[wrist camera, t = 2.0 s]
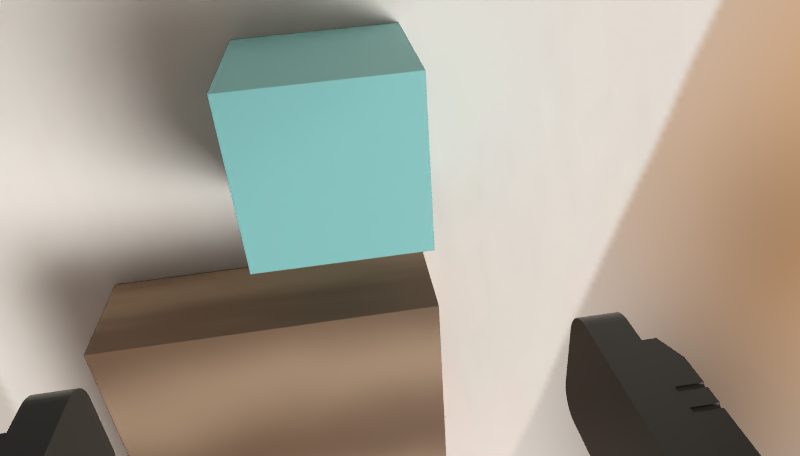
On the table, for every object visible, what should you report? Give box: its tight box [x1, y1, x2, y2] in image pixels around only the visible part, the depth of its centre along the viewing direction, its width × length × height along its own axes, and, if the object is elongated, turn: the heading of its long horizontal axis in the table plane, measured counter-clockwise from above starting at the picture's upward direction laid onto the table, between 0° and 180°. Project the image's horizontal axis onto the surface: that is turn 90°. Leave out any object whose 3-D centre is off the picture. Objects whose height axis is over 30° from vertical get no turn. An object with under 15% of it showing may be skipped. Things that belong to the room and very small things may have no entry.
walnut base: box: [84, 252, 446, 456], centre depth 26 cm, size 12×12×4 cm
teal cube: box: [207, 22, 434, 274], centre depth 19 cm, size 6×6×6 cm
